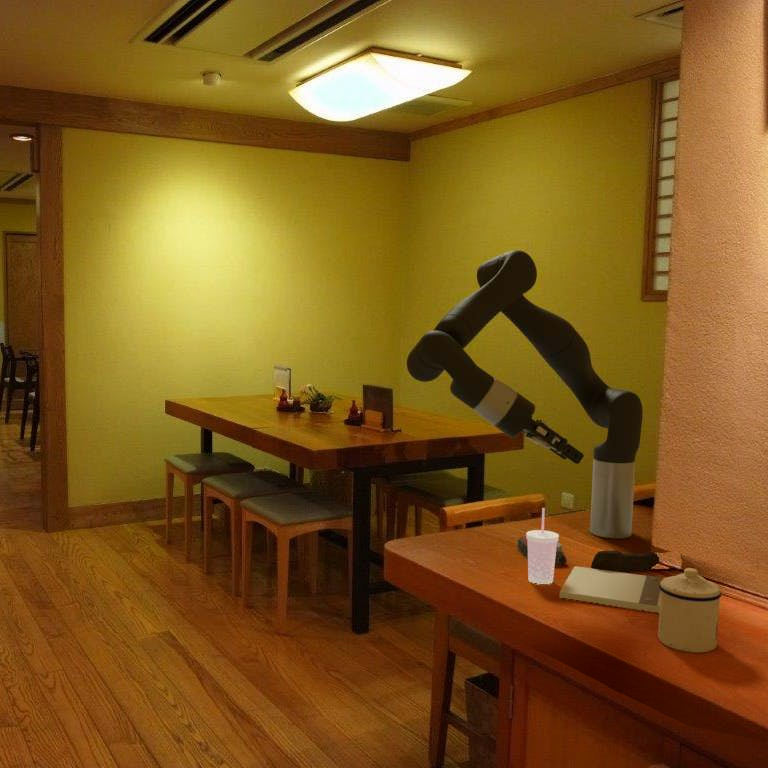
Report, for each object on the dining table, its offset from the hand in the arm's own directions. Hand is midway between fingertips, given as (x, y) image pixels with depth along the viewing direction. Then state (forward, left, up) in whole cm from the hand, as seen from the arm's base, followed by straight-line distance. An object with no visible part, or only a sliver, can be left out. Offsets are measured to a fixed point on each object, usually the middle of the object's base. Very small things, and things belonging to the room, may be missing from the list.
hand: (574, 457), depth 155 cm
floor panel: (+1, +12, -24) cm, 27 cm away
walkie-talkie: (-17, -9, -24) cm, 31 cm away
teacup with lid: (+19, +21, -24) cm, 37 cm away
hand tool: (-12, +11, -24) cm, 29 cm away
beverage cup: (+1, -5, -24) cm, 25 cm away
